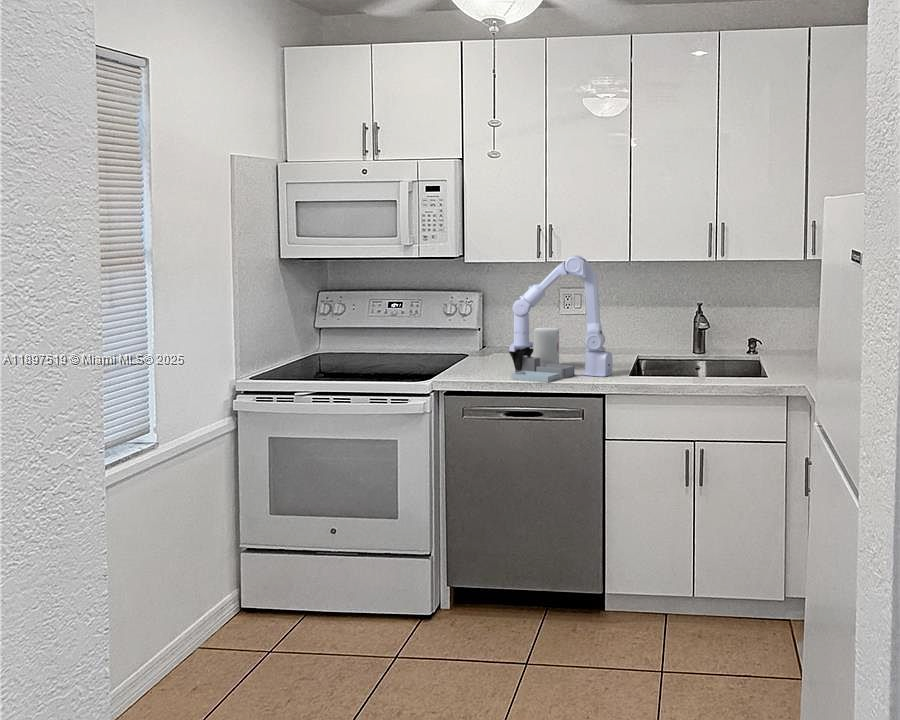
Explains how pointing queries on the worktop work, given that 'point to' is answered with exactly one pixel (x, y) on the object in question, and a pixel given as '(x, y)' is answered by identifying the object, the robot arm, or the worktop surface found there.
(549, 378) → the tray
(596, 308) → the robot arm
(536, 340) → the grey piece
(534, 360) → the caddy
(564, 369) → the bay
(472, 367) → the worktop surface
